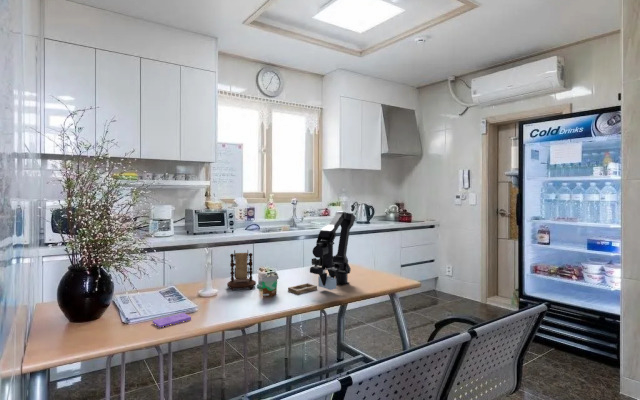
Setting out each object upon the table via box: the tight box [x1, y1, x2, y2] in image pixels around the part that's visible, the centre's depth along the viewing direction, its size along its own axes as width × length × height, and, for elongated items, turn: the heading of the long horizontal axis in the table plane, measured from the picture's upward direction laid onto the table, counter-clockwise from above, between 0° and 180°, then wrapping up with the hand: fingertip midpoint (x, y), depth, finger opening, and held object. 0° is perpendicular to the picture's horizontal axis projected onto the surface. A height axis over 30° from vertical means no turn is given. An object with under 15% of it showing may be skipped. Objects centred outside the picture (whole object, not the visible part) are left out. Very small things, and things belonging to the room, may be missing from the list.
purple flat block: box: [152, 312, 192, 328], centre depth 147 cm, size 7×13×2 cm, turn 134°
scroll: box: [226, 249, 257, 292], centre depth 195 cm, size 15×15×20 cm
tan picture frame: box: [287, 282, 318, 295], centre depth 190 cm, size 13×8×2 cm, turn 131°
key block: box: [317, 274, 337, 291], centre depth 187 cm, size 4×9×6 cm, turn 41°
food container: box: [261, 271, 279, 298], centre depth 182 cm, size 12×6×10 cm, turn 168°
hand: (327, 284), depth 188 cm, fingers closed on key block, 4 cm apart
